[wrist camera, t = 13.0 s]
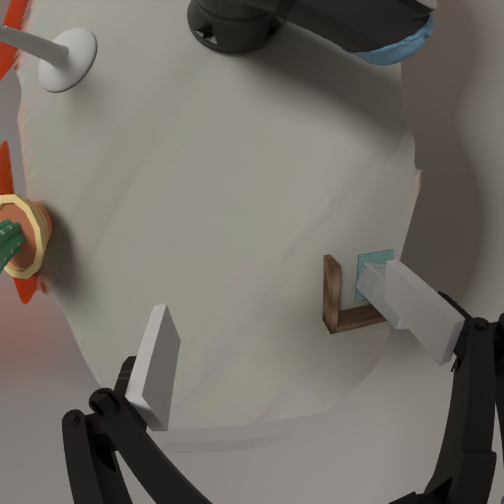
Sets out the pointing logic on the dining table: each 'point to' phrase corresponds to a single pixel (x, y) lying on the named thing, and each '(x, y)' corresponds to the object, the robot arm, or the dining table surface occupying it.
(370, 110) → the dining table surface
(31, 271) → the potted cactus
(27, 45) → the candlestick
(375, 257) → the pad
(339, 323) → the wooden corner bracket
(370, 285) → the skincare box
